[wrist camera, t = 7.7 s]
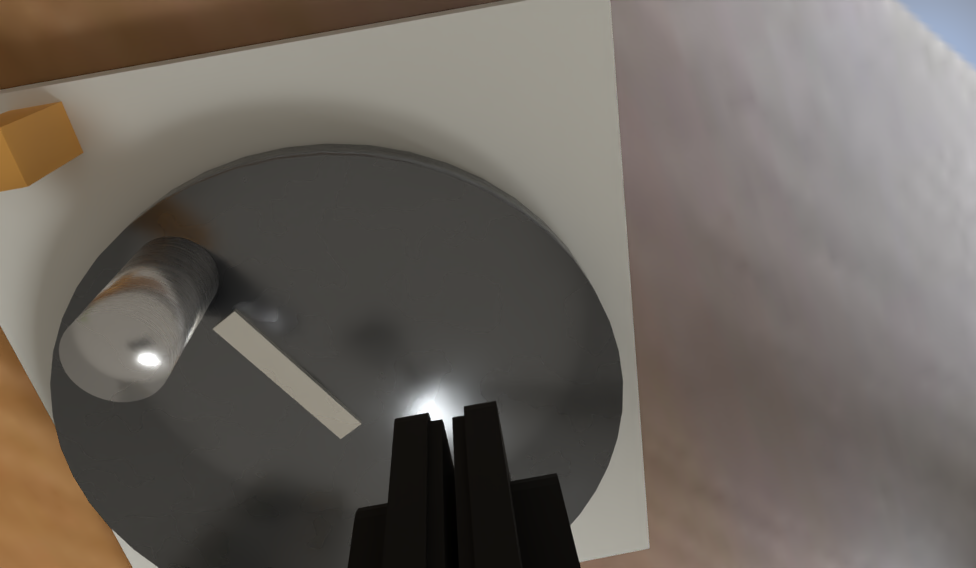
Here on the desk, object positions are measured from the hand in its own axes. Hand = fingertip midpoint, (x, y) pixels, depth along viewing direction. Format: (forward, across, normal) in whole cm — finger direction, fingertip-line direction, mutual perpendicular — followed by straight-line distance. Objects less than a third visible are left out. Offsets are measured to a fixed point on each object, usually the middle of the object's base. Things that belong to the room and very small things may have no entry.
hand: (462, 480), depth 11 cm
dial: (+13, +5, +7) cm, 16 cm away
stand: (+15, +5, +7) cm, 17 cm away
